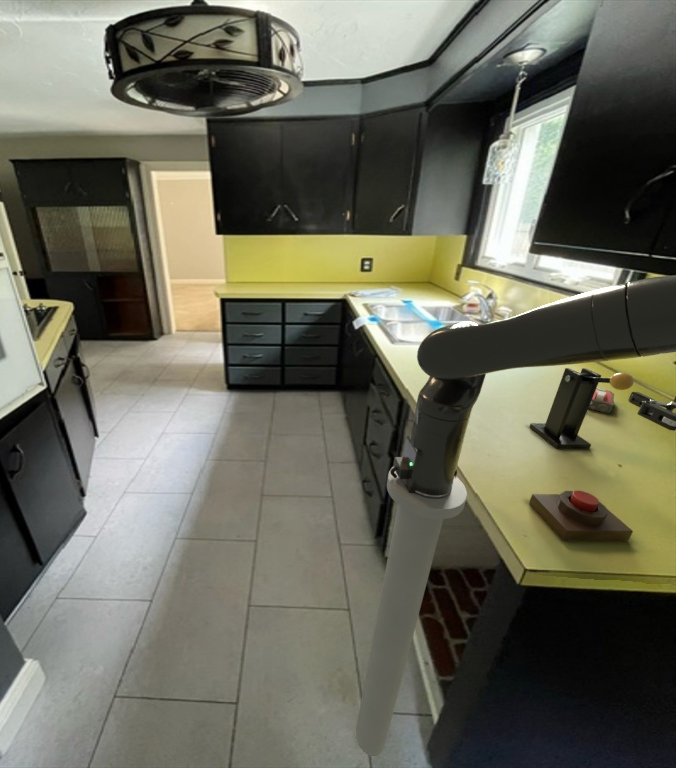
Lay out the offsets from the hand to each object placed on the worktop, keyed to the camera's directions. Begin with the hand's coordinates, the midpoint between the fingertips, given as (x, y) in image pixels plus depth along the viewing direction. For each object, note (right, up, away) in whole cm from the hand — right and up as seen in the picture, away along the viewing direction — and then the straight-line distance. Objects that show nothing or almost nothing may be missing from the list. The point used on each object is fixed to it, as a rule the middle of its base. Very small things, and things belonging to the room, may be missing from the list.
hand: (654, 396), depth 68 cm
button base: (-17, -22, -3) cm, 28 cm away
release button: (-17, -19, -4) cm, 26 cm away
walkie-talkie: (+22, -5, +39) cm, 45 cm away
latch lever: (0, +1, +11) cm, 11 cm away
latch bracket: (0, -11, +23) cm, 25 cm away
